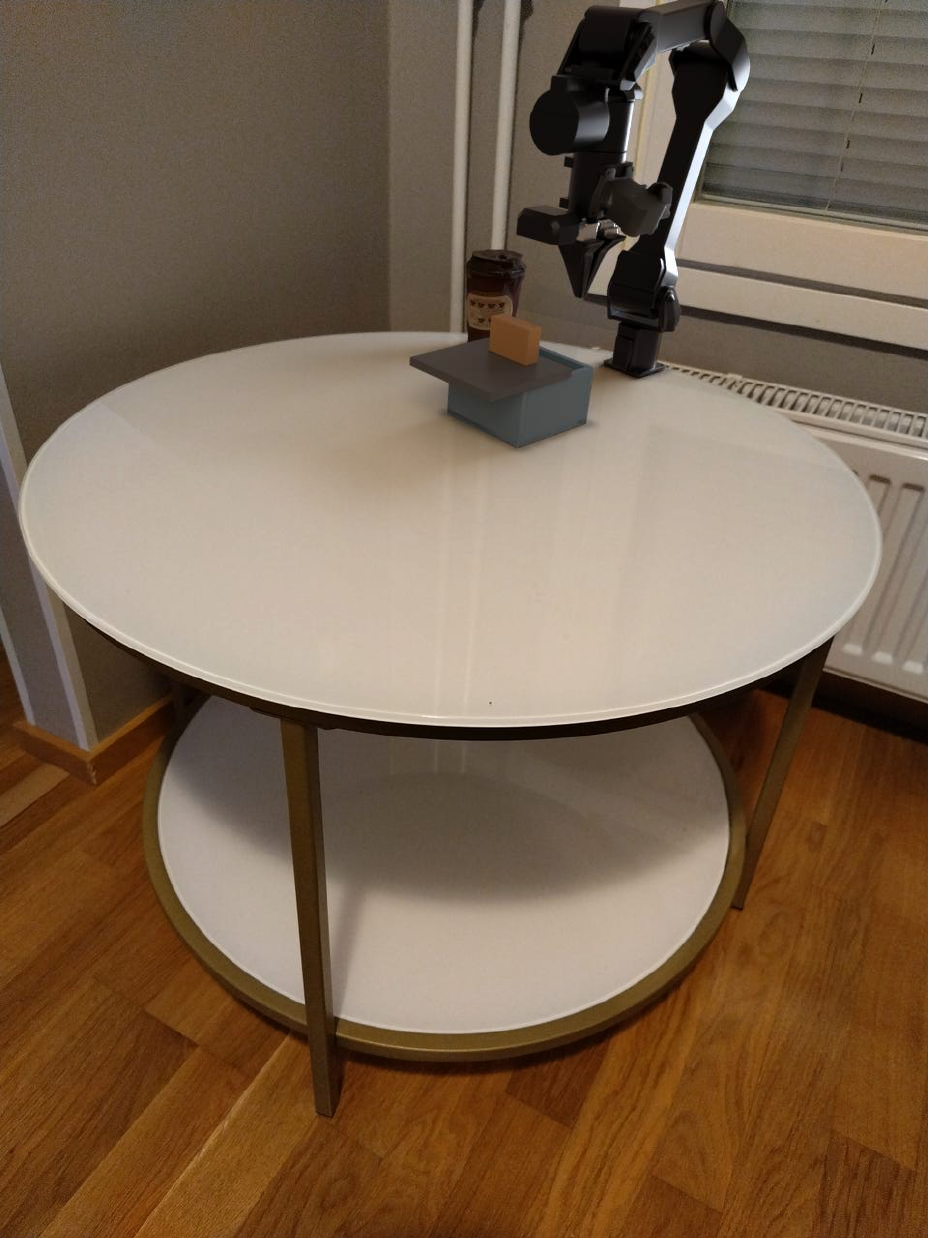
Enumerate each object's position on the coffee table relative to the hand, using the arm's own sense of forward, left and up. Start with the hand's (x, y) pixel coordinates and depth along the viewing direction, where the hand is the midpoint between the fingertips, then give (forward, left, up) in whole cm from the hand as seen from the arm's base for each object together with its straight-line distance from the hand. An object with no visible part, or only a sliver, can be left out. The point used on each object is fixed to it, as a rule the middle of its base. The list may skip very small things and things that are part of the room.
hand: (579, 297), depth 102 cm
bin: (+9, 0, -13) cm, 16 cm away
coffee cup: (-6, -20, -13) cm, 25 cm away
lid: (+14, 0, -6) cm, 16 cm away
